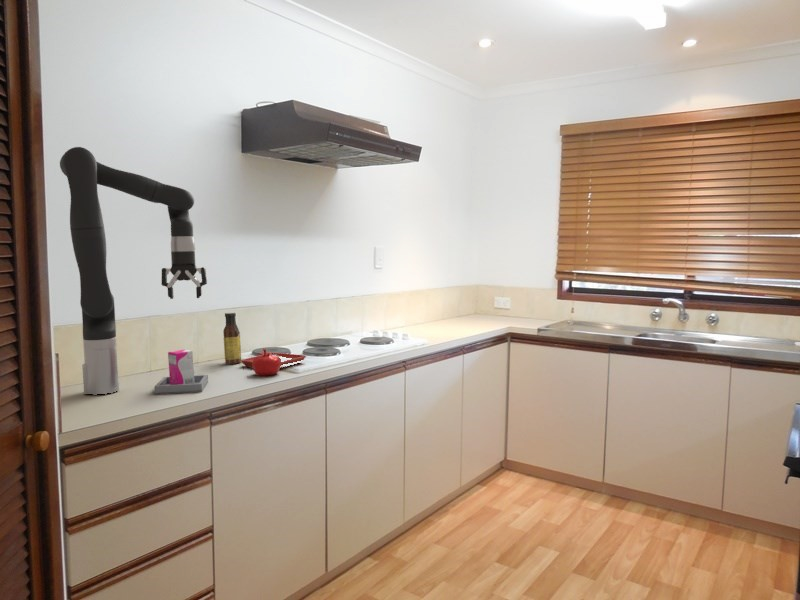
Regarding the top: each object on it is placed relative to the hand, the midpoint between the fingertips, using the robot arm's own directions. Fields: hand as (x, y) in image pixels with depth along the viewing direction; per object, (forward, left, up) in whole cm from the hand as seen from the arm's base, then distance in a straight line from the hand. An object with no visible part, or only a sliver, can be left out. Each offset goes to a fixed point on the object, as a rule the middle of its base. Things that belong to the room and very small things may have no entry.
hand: (185, 298), depth 201 cm
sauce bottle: (+12, +28, -28) cm, 42 cm away
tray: (0, -12, -28) cm, 31 cm away
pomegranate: (+26, +3, -28) cm, 39 cm away
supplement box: (0, -11, -28) cm, 30 cm away
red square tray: (+28, +20, -29) cm, 45 cm away
